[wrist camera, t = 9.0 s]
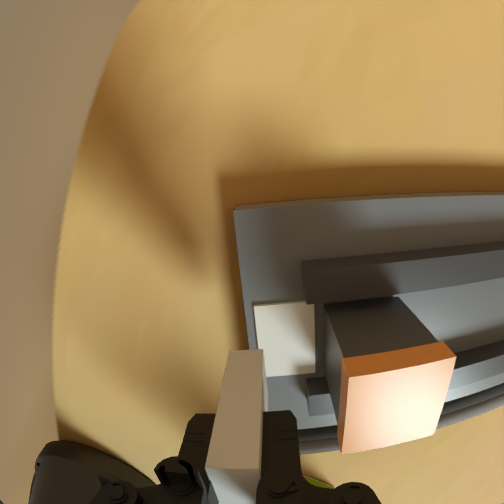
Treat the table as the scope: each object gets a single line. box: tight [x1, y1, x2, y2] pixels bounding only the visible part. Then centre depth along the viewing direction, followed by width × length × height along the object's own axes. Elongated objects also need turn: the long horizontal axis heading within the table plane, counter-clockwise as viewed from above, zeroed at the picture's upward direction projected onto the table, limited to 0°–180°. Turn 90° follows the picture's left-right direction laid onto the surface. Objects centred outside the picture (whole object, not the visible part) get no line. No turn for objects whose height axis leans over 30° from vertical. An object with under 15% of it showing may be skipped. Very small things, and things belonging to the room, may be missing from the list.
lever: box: [324, 296, 456, 455], centre depth 13 cm, size 4×4×6 cm
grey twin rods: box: [298, 383, 504, 455], centre depth 20 cm, size 23×3×1 cm, turn 96°
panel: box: [233, 191, 504, 429], centre depth 16 cm, size 24×14×4 cm, turn 96°
